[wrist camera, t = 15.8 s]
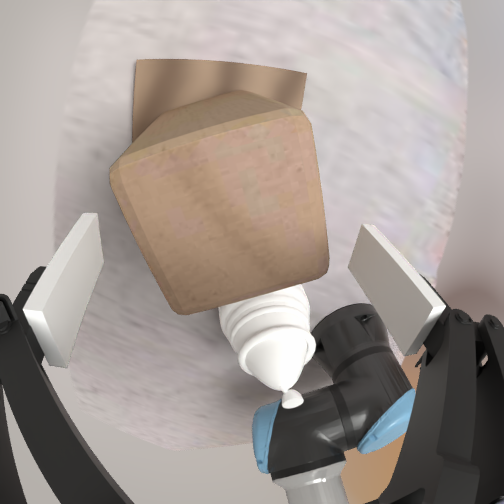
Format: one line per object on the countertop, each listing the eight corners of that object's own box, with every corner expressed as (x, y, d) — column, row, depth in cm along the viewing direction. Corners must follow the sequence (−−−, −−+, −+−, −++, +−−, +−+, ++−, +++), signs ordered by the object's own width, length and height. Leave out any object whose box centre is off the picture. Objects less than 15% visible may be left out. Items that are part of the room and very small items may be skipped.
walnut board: (302, 73, 29) (306, 73, 28) (278, 213, 39) (281, 219, 38) (139, 60, 26) (136, 59, 25) (136, 209, 35) (133, 214, 34)
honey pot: (311, 302, 49) (350, 394, 34) (241, 334, 50) (259, 430, 36) (281, 245, 42) (325, 347, 27) (200, 285, 43) (207, 394, 29)
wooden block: (184, 195, 34) (174, 325, 18) (156, 114, 28) (95, 172, 12) (268, 171, 34) (336, 280, 18) (248, 87, 28) (314, 106, 12)
